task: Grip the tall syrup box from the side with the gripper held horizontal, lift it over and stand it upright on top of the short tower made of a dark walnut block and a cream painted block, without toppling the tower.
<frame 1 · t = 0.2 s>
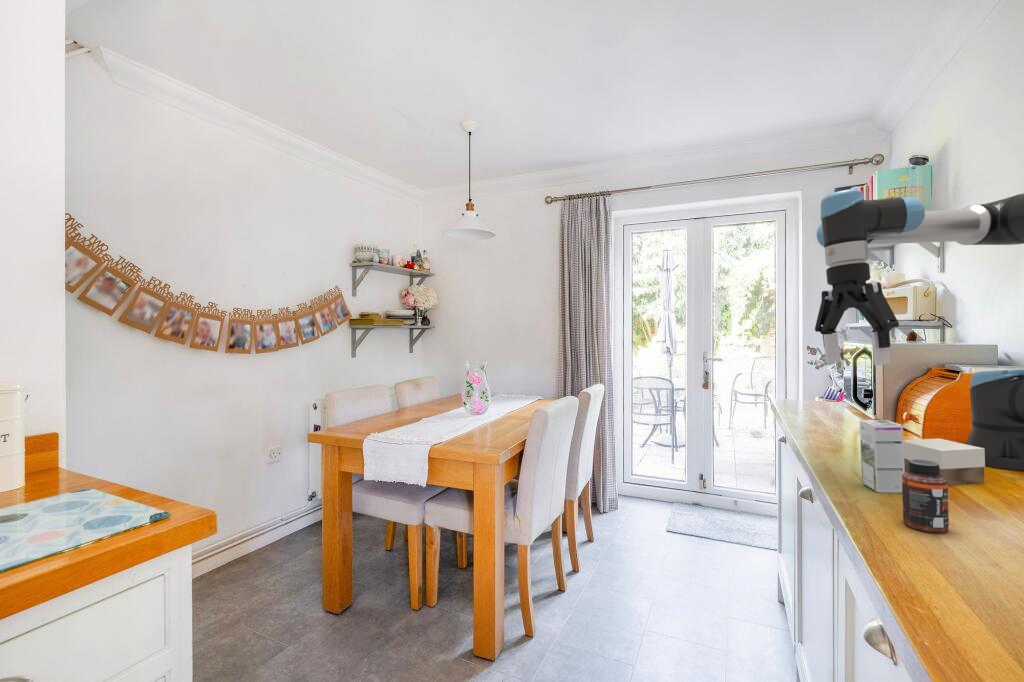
hand: (855, 363, 99), 27 cm above the worktop, tool pointing down, fingers open, 13 cm apart
syrup box: (883, 489, 100), on the worktop
tower top block: (940, 461, 105), point 4 cm above the worktop, touching tower base block
tower base block: (940, 479, 106), on the worktop, touching tower top block
supplement bottle: (925, 528, 80), on the worktop
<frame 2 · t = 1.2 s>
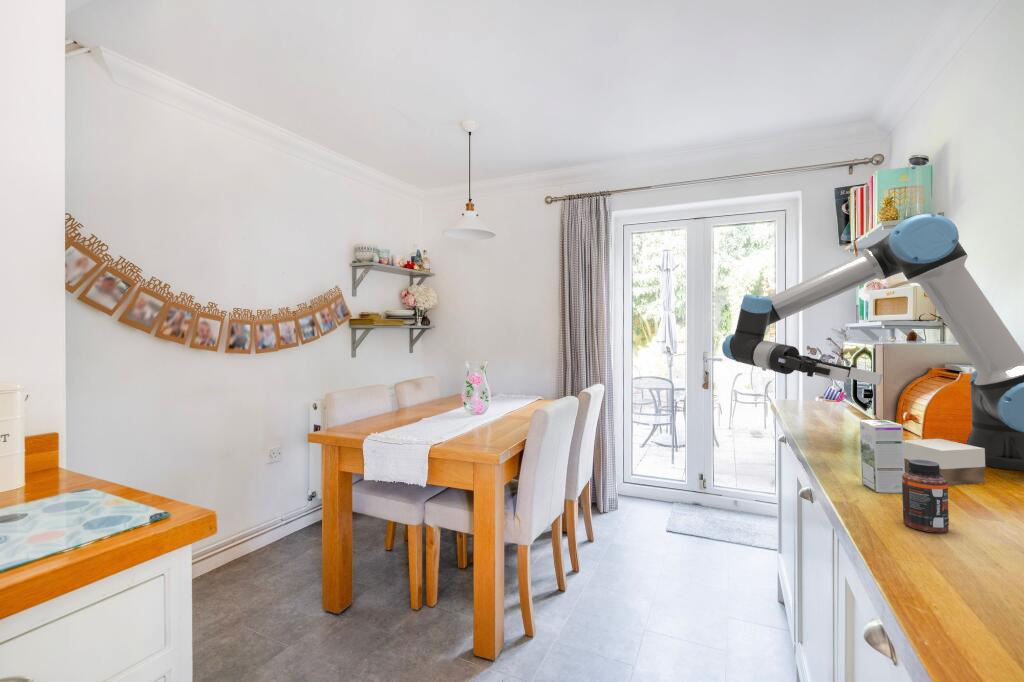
hand: (864, 378, 105), 23 cm above the worktop, tool horizontal, fingers open, 13 cm apart
nothing on the worktop moved.
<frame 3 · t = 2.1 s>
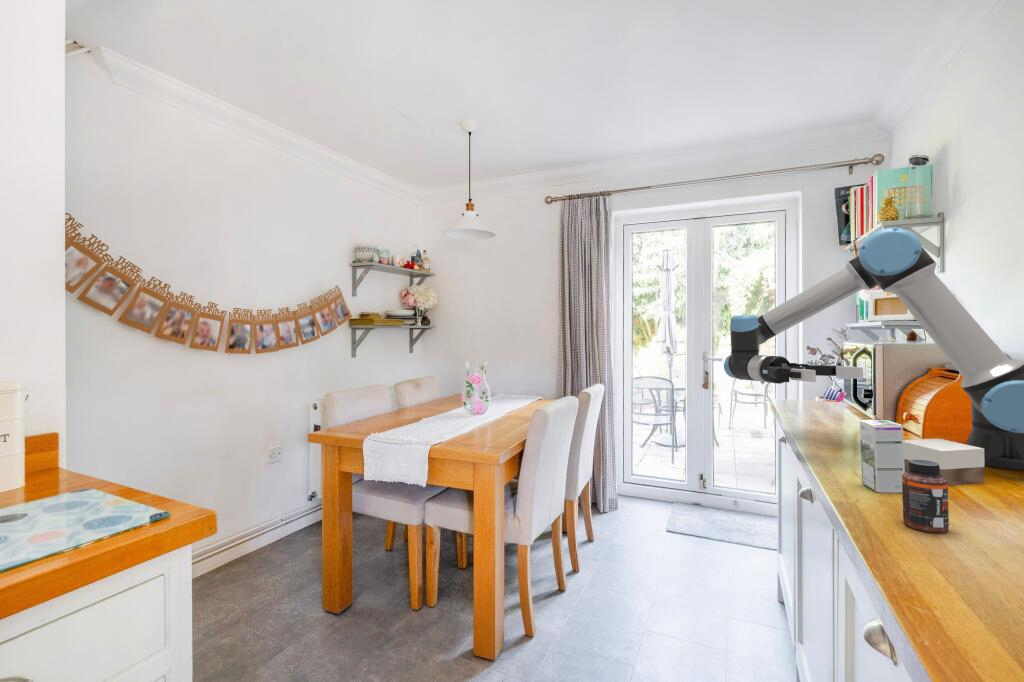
hand: (838, 374, 109), 24 cm above the worktop, tool horizontal, fingers open, 13 cm apart
nothing on the worktop moved.
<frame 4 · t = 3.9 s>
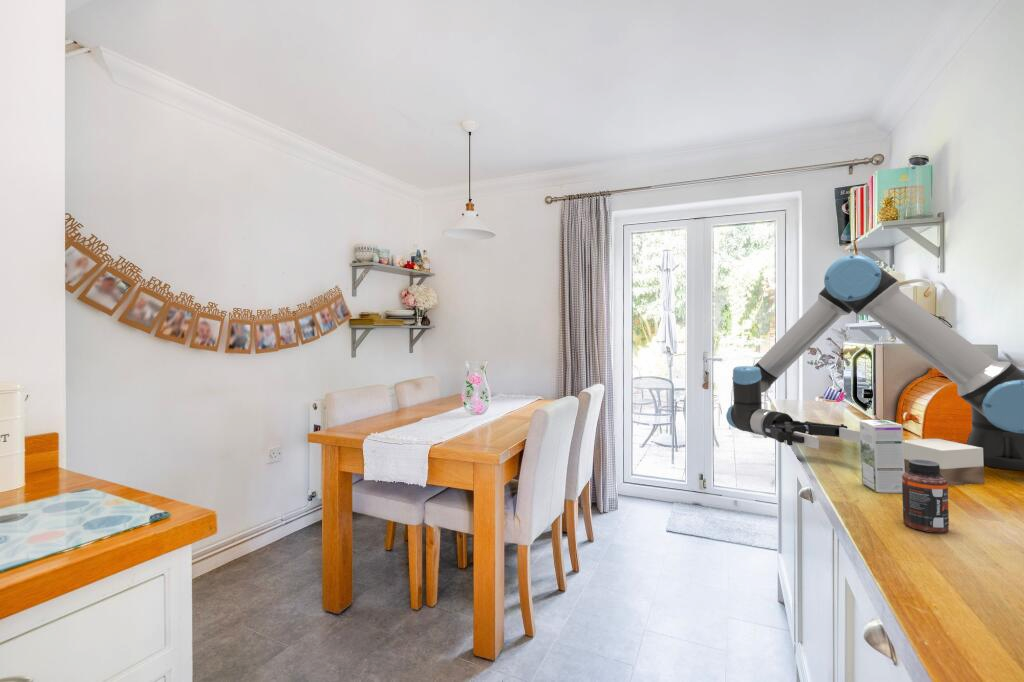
hand: (842, 440, 109), 8 cm above the worktop, tool horizontal, fingers open, 13 cm apart
nothing on the worktop moved.
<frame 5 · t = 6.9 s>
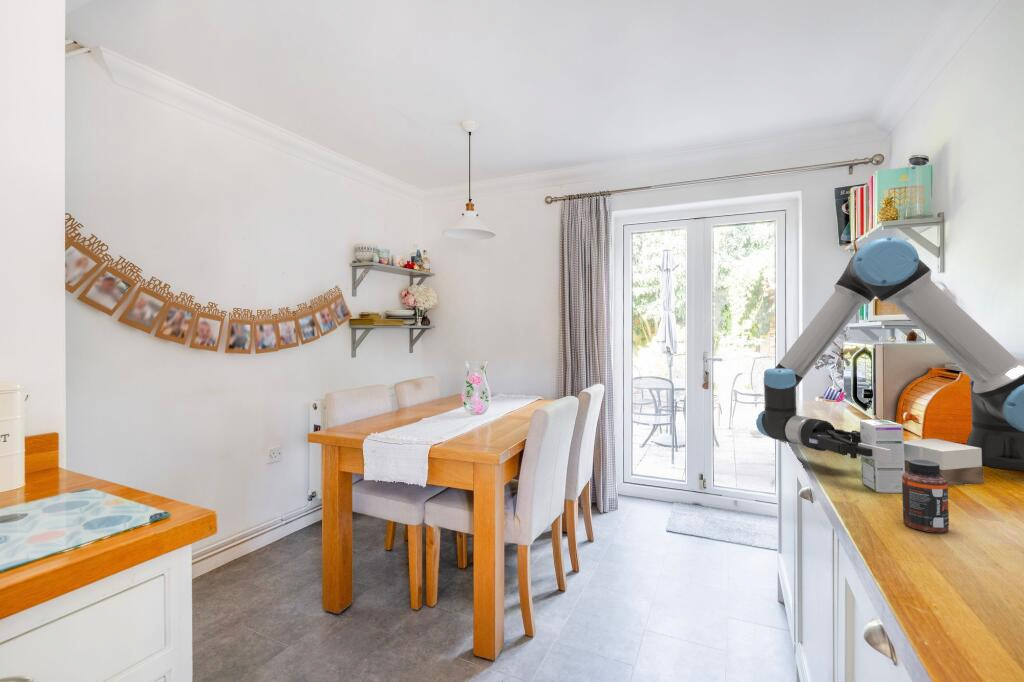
hand: (905, 454, 95), 9 cm above the worktop, tool horizontal, fingers closed on syrup box, 7 cm apart
syrup box: (883, 489, 100), on the worktop, touching gripper
when the fingers open (18 cm above the worktop, at t = 14.1 s): syrup box drops 2 cm, resting on tower top block.
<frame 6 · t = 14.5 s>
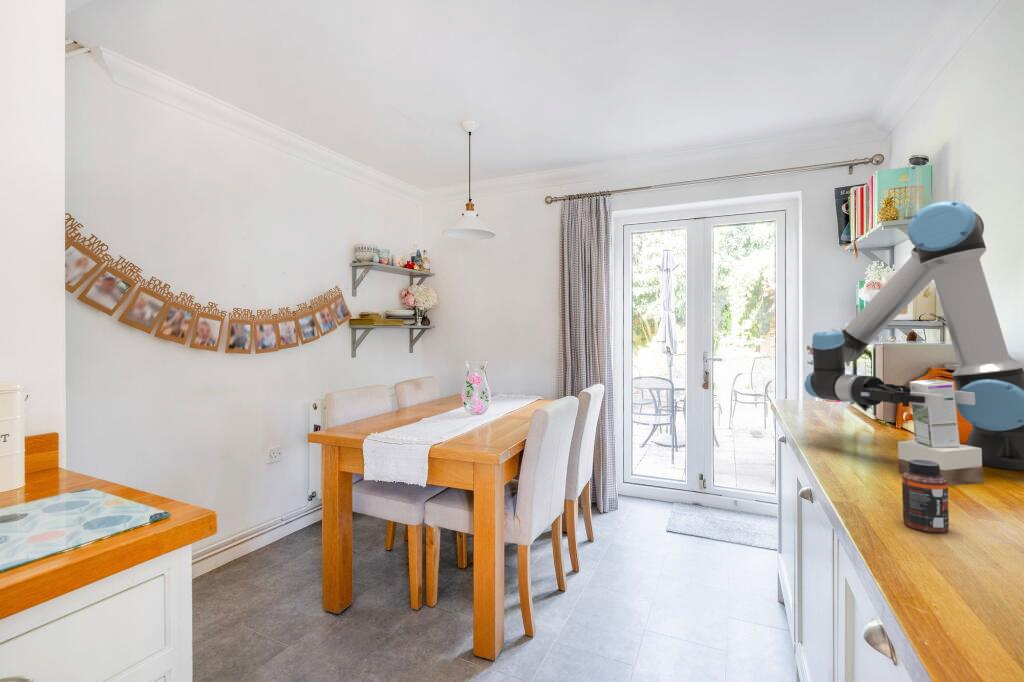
hand: (958, 400, 101), 18 cm above the worktop, tool horizontal, fingers open, 8 cm apart
syrup box: (936, 445, 106), point 7 cm above the worktop, touching tower top block
tower top block: (938, 462, 106), point 3 cm above the worktop, touching syrup box, tower base block
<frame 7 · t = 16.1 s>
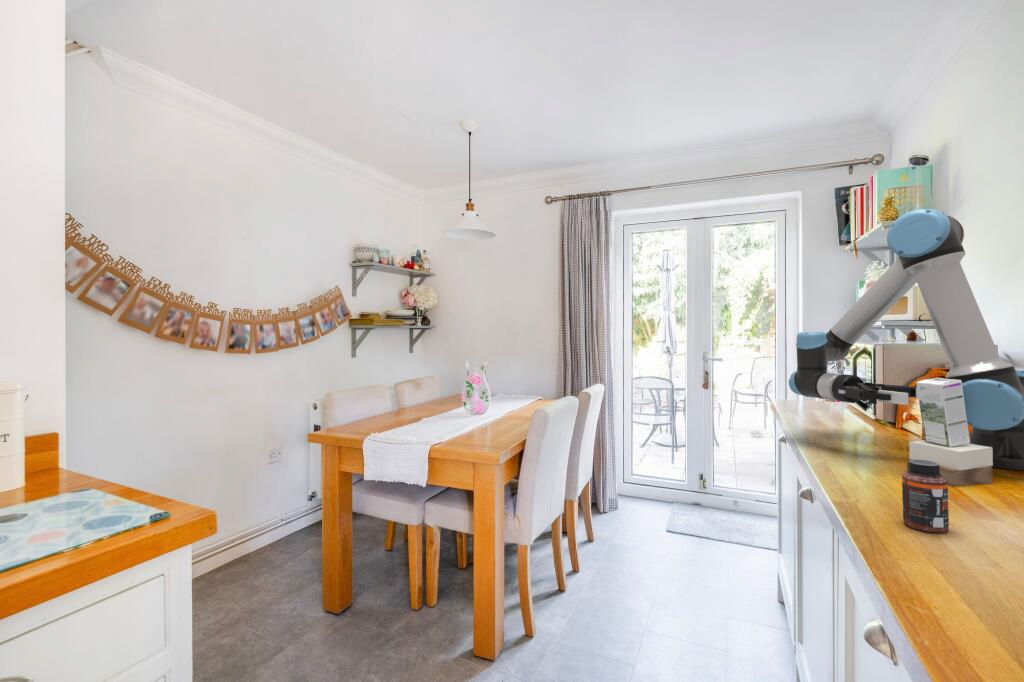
hand: (927, 397, 107), 18 cm above the worktop, tool horizontal, fingers open, 11 cm apart
syrup box: (946, 443, 106), point 8 cm above the worktop, touching tower top block
tower top block: (949, 462, 105), point 3 cm above the worktop, touching syrup box, tower base block
tower base block: (948, 480, 105), on the worktop, touching tower top block
everything else where it was.
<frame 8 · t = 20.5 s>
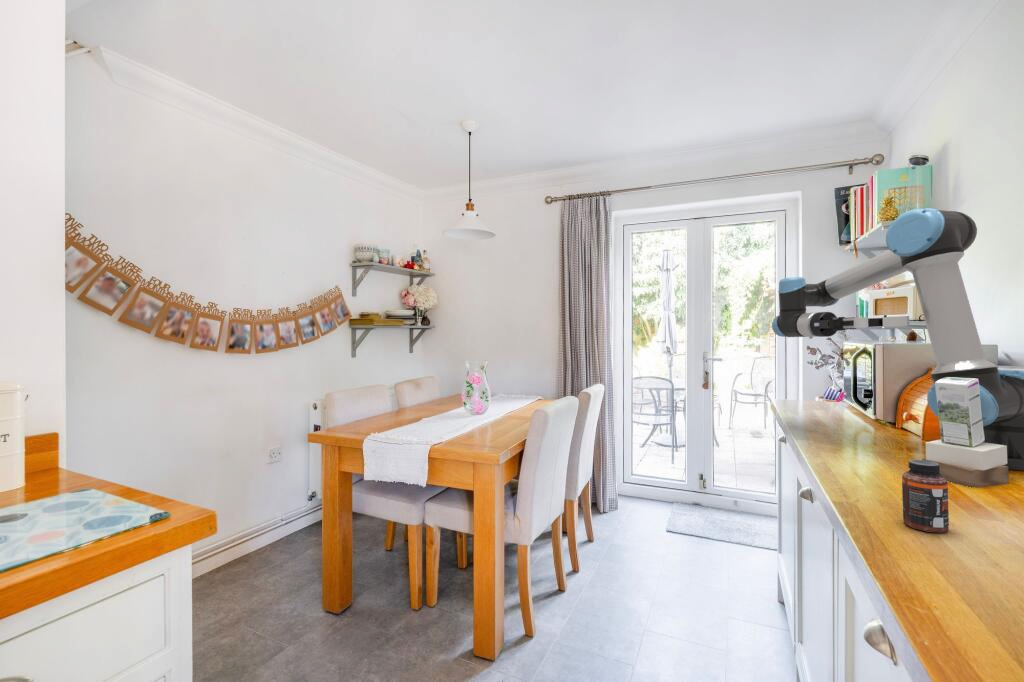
hand: (888, 321, 122), 36 cm above the worktop, tool horizontal, fingers open, 13 cm apart
syrup box: (962, 442, 105), point 8 cm above the worktop, touching tower top block
tower top block: (965, 461, 105), point 4 cm above the worktop, touching syrup box, tower base block
tower base block: (963, 480, 104), on the worktop, touching tower top block
everything else where it was.
at the end: syrup box 0.4 cm off-centre on the tower top block, point 4.2 cm above the tower top block's base; syrup box tilted 8°; tower top block 1.1 cm off-centre on the tower base block, point 4.0 cm above the tower base block's base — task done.
